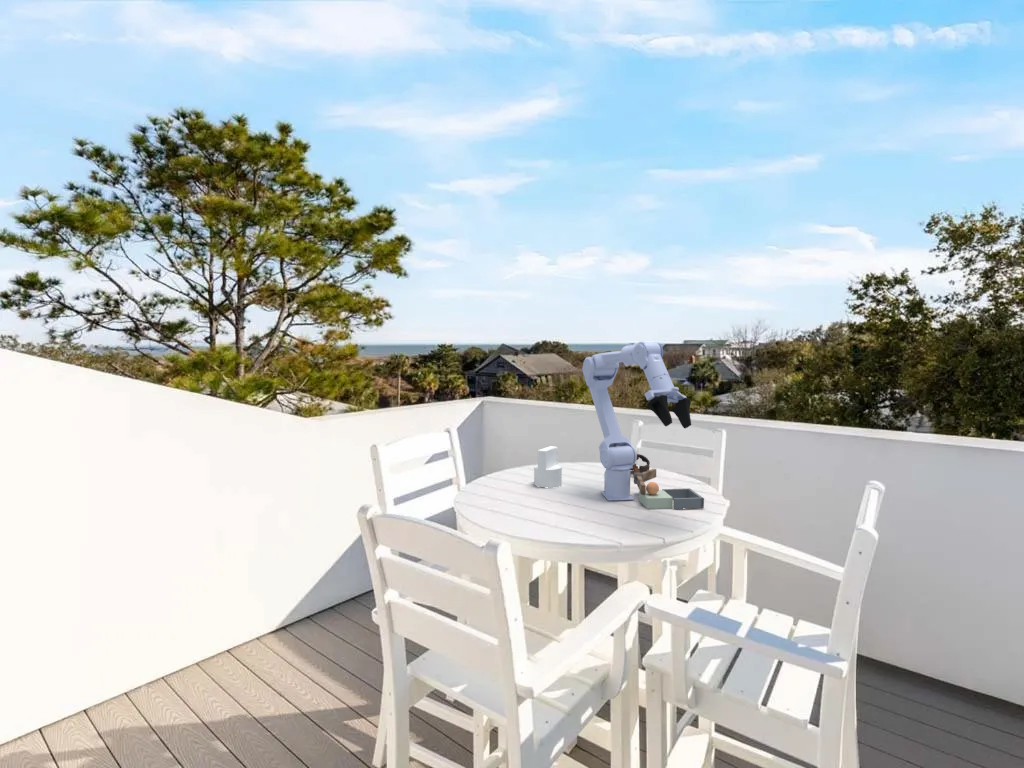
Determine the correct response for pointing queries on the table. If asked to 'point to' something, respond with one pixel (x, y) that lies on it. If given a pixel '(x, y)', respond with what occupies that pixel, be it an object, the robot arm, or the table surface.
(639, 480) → the flipper lever
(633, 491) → the table surface
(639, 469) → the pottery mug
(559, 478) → the base with upright slab
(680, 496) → the tray
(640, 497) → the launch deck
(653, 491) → the ball
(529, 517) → the table surface
